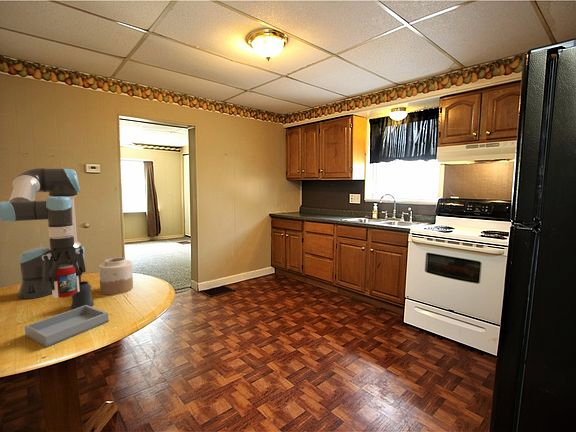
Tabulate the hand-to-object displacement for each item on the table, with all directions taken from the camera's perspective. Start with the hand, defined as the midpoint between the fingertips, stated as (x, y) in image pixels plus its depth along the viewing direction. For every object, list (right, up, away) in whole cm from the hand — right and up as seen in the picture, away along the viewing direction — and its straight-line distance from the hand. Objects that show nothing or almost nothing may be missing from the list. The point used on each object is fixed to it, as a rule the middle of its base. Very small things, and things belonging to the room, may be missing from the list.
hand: (66, 294), depth 117 cm
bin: (0, -14, +2) cm, 14 cm away
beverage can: (0, -1, 0) cm, 1 cm away
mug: (-10, -12, +24) cm, 28 cm away
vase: (-5, -9, +44) cm, 45 cm away
